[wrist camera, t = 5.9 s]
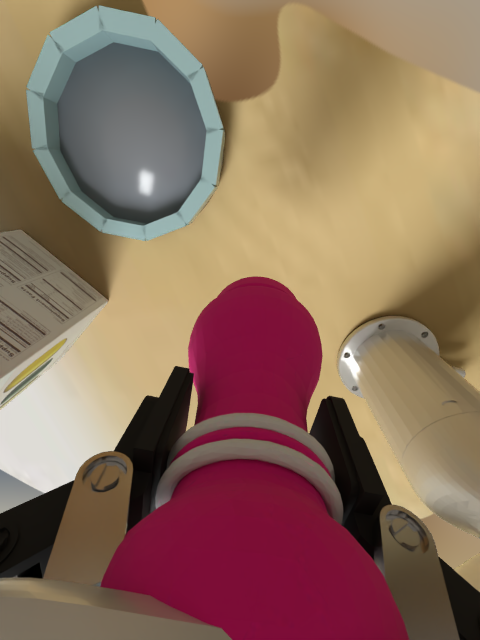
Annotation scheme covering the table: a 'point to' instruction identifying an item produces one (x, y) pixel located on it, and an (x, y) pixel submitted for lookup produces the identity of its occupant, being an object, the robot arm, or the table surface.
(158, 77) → the round tray
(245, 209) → the table surface
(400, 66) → the table surface
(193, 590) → the pepper mill
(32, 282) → the supplement box
